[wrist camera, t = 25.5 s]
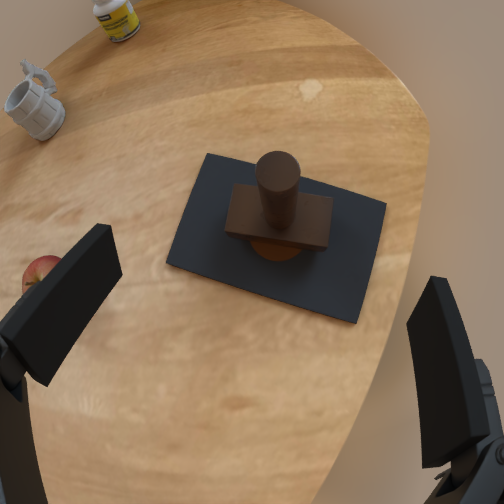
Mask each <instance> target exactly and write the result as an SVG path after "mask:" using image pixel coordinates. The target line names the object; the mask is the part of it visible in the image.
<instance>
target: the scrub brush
mask: <svg viewBox="0 0 504 504" xmlns="http://www.w3.org/2000/svg"><path fill="white" fill-rule="evenodd" d="M300 173H301V170H300V165H299V163H298V161H297V160H296V159H295V158H294V157H293V156H292V155H290V154H289V153H286V152H283V151H273V152H269V153H267V154H265V155H264V156H262V157H261V158H260V159H259V161H258V162H257V164H256V167H255V176H256V181H257V185H258V186H251V185H243V184H235V183H234V186H233V191H232V195H231V200H230V205H229V210H228V215H227V220H226V225H225V230H224V231H225V232H226V234H227V235H228V236H229V237H230V238H236V239H242V240H248V241H255V242H261V243H267V244H274V245H280V246H286V247H293V248H299V249H305V250H311V251H317V252H325V250H326V249H327V248H328V243H329V235H330V227H331V219H332V210H333V201H334V198H331V197H325V196H319V195H313V194H307V193H300V192H298V190H299V182H300Z"/></svg>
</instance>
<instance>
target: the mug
mask: <svg viewBox="0 0 504 504" xmlns="http://www.w3.org/2000/svg"><path fill="white" fill-rule="evenodd" d="M20 64H21V65H22V66H23V72H24V74H25V75H26V77H25V79H24V81H22V82H20V83H19V84H18V85H17V86H16V87H15V88H14V89H13V90H12V92H11V93H10V94H9V96H8V98H7V100H6V102H5V106H4V110H5V112H6V113H7V114H8V115H9V116H10V117H12V118H13V121H14V122H15V123H16V124H18V125H21V126H22V127H24V128H25V129H26V130H27V131H28V132H29V135H30V136H31V137H32V138H34V139H38V140H40V141H43V140H47V139H49V138H50V137H52V135H54V134H55V132H56V131H57V130H58V129H59V128H60V127H61V125H62V123H63V121H64V117H65V109H64V108H63V105H62V103H61V102H60V101H59V100H57V99H53V98H52V97H51V96H50V95H51V94H53V93H56V92H57V88H56V86H55V84H56V83H55V82H54V80H53V79H52V77H50V75H49V73H48V72H47V71H46V70H45V71H44V70H42V69H41V68H38V67H35V66H34V65H32V64H30V63H28V62H27V61H26V59H24V60H22V61H21V62H20ZM32 77H34V78H35V77H37V78H39V80H40V81H41V82H42V83H43V84H42V85H43V87H44V88H43V87H42V86H38V85H37V84H36V83H35V82H33V81H32V80H31V79H32Z"/></svg>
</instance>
